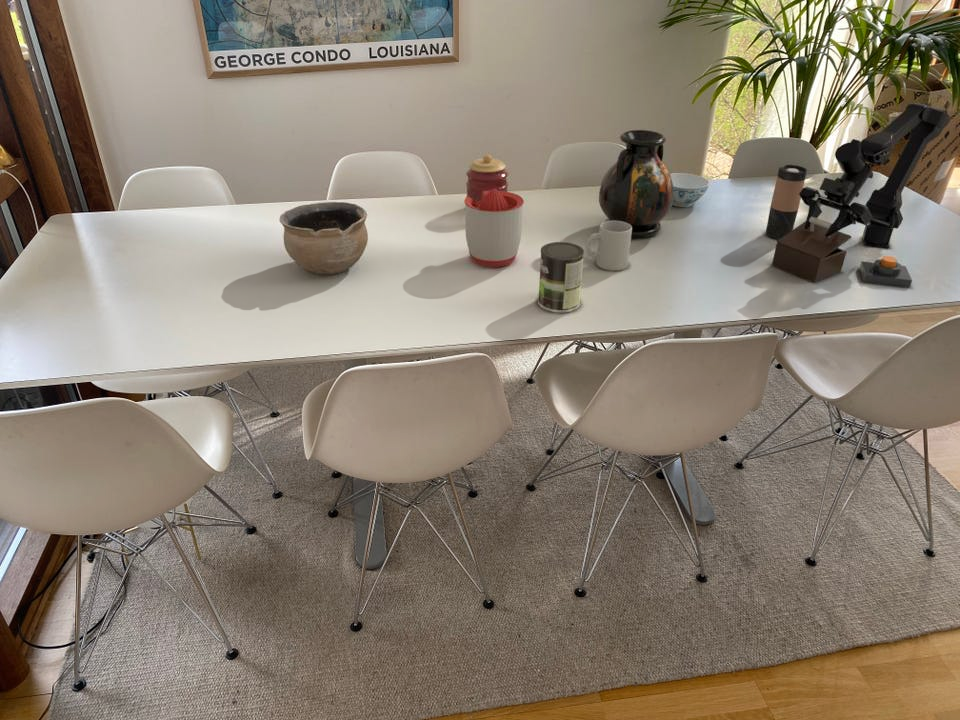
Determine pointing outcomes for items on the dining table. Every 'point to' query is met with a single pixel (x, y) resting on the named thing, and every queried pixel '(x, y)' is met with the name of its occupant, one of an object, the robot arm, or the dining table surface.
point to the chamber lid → (814, 239)
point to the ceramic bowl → (325, 236)
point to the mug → (612, 245)
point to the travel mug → (785, 201)
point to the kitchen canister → (485, 177)
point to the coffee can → (560, 277)
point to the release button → (888, 261)
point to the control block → (885, 274)
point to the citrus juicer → (494, 227)
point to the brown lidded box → (808, 263)
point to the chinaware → (688, 188)
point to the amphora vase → (638, 184)
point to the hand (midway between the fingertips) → (815, 232)
